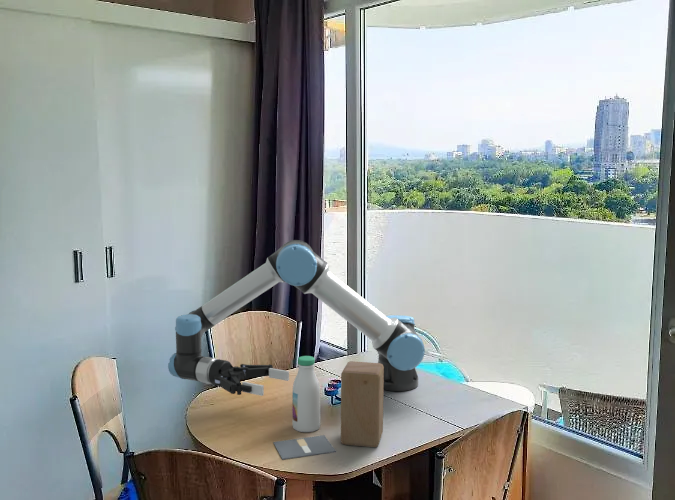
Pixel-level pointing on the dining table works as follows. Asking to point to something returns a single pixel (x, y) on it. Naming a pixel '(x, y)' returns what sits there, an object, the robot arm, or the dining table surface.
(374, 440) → the wooden block
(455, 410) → the dining table surface
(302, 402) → the milk bottle
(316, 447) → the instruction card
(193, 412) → the dining table surface
